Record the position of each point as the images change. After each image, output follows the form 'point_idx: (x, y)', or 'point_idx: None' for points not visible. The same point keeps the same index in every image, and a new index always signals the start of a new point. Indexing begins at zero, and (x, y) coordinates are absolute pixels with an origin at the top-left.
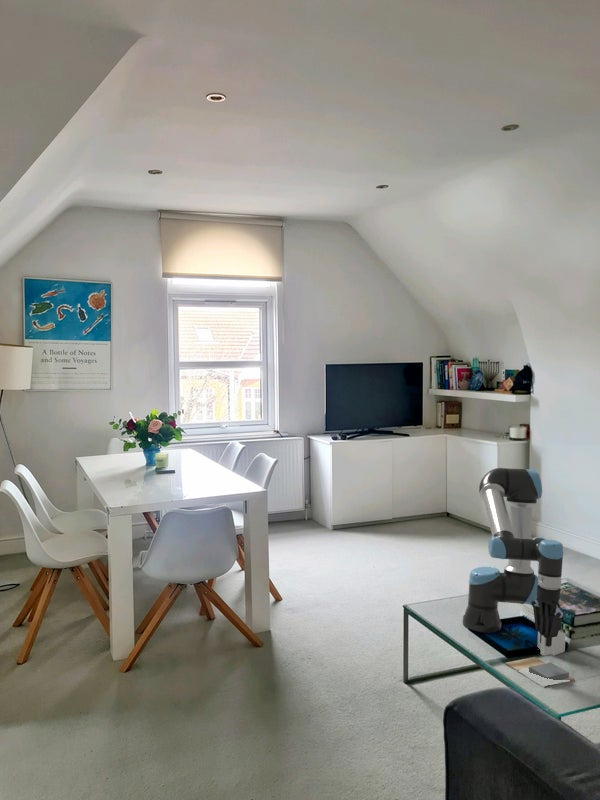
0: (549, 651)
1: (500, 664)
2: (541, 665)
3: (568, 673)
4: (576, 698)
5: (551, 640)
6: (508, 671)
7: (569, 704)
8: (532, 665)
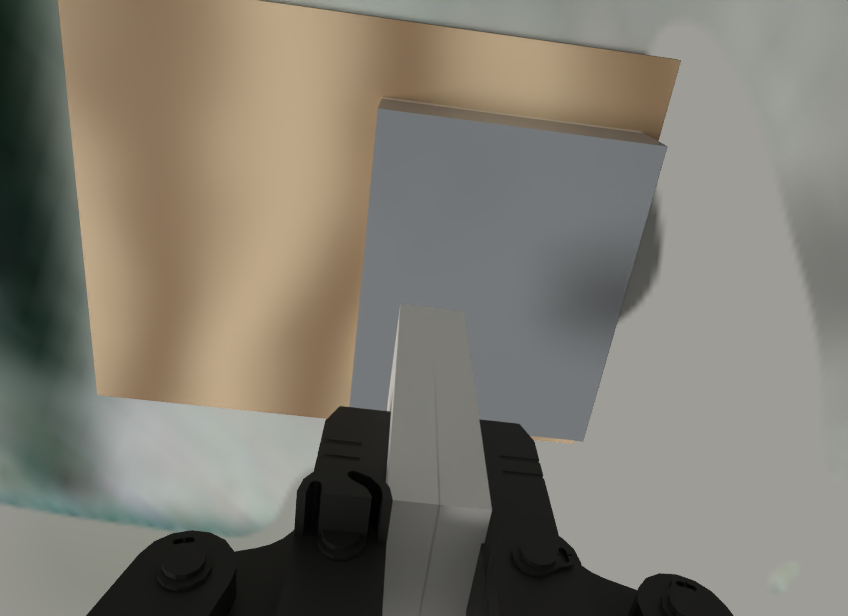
0: (466, 339)
1: (94, 422)
2: (385, 285)
3: (661, 152)
4: (838, 357)
5: (549, 510)
6: (230, 459)
7: (833, 474)
8: (235, 205)
